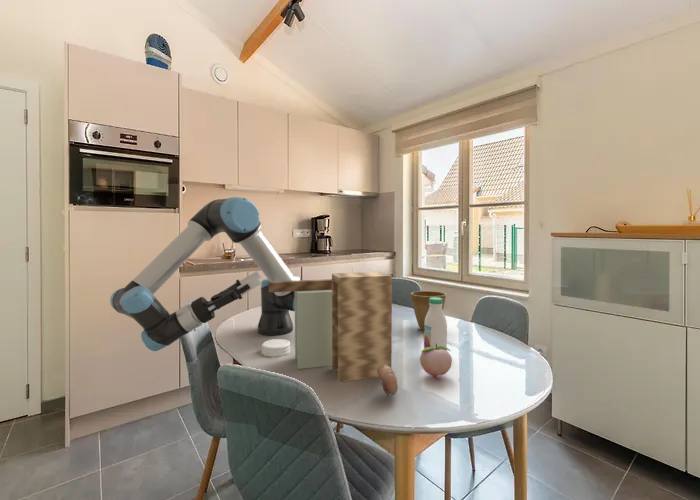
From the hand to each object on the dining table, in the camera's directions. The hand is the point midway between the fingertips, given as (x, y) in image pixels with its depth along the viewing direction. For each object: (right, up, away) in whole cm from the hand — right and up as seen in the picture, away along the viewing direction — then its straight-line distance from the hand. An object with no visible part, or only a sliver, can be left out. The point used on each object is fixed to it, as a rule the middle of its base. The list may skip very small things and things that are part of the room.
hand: (259, 276), depth 108 cm
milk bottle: (+58, -28, +12) cm, 66 cm away
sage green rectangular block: (+17, -29, +6) cm, 34 cm away
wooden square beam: (+14, -5, +4) cm, 16 cm away
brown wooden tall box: (+32, -29, -3) cm, 43 cm away
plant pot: (+63, -27, +44) cm, 81 cm away
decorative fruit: (+54, -29, -7) cm, 62 cm away
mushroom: (+39, -30, -18) cm, 52 cm away
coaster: (+2, -29, +15) cm, 32 cm away
